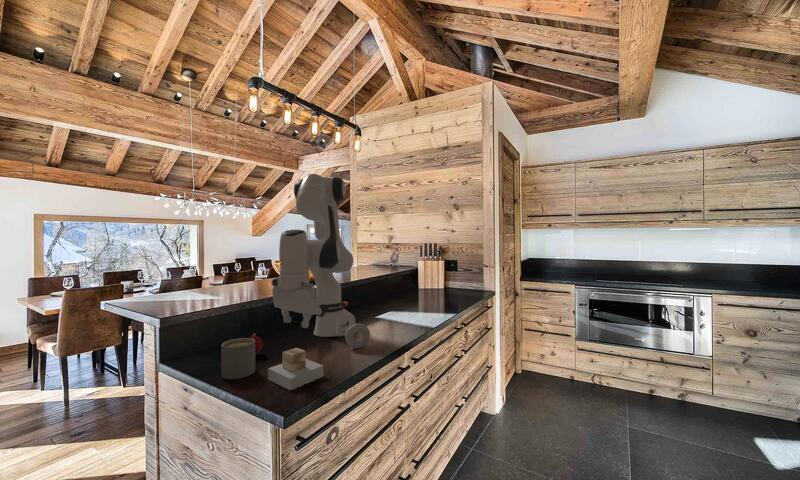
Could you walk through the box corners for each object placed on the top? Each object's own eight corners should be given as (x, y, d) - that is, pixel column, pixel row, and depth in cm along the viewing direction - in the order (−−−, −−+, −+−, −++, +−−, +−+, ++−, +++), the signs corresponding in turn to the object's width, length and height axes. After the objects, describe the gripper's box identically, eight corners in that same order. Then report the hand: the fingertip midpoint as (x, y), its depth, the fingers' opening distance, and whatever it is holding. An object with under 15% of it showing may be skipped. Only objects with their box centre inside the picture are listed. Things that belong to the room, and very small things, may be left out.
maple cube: (296, 362, 106) (296, 347, 106) (305, 366, 103) (305, 350, 102) (282, 367, 102) (282, 352, 102) (291, 371, 99) (291, 355, 99)
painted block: (301, 368, 111) (301, 356, 111) (323, 377, 103) (323, 365, 103) (268, 381, 102) (268, 368, 101) (290, 392, 94) (290, 378, 94)
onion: (256, 358, 119) (255, 336, 119) (242, 357, 120) (241, 336, 120) (265, 353, 125) (265, 332, 125) (252, 352, 126) (252, 331, 126)
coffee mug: (252, 377, 103) (252, 345, 103) (217, 381, 101) (217, 348, 101) (259, 361, 116) (259, 333, 116) (228, 364, 114) (228, 336, 114)
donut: (345, 350, 126) (345, 325, 126) (344, 347, 130) (344, 323, 130) (370, 348, 129) (370, 323, 129) (369, 345, 132) (369, 321, 132)
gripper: (324, 282, 98) (325, 328, 99) (285, 277, 111) (286, 317, 111) (306, 285, 93) (307, 333, 94) (268, 280, 106) (269, 322, 106)
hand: (296, 324), depth 103 cm, fingers open, 8 cm apart
